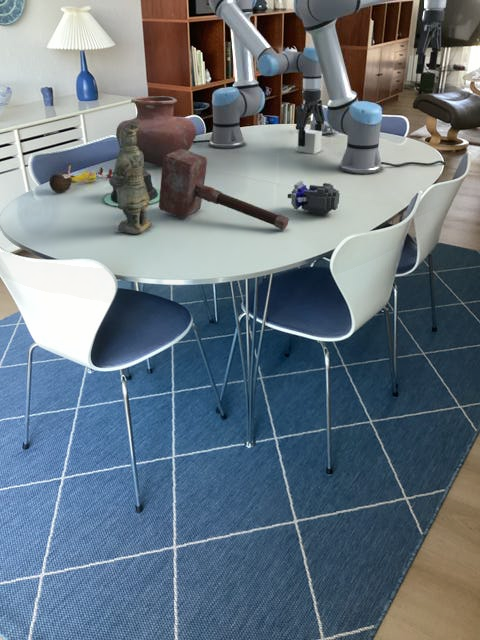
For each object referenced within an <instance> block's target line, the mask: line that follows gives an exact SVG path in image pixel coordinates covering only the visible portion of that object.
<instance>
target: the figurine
mask: <svg viewBox="0 0 480 640" xmlns="http://www.w3.org/2000/svg"><path fill="white" fill-rule="evenodd" d="M71 169H72V167H71V164H70V165H69V166H68V169H67V174H66V173H63V174H61V173H59V172H56V173H53V174H52V175H51V176H50V177H49V181H48V182H49V187H50V189H51V190H52V191H54V192H56V193H64V192H67V191H68V190H69V189H70V188H71V186H72V184H85V183H86V182H92V183H93V182H96V180H95V179H98V178H99V179H110V178H111V176H112V173H113V170H112V168H110V169H108V173H107V174H103V172H104V168H103V167H102V166H101V167H100V168H99V171H98V172H96V171H95V170H94V169H91V170H89V171H85V172H83V173H80V174H76V175H73V174H72V175H71Z"/></svg>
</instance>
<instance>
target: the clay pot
mask: <svg viewBox="0 0 480 640" xmlns="http://www.w3.org/2000/svg"><path fill="white" fill-rule="evenodd" d="M130 102H131V103H134V105H135V107H136V112H137V113H136V116H135V117H134V118H130V119H128V120H127V119H126V120H122V121H121V122H120V123H119V124H118V125H117V127H116V133H115V137H116V139H117V142H119V140H118V138H119V133H120V130H121V129H123V128H124V127H125V126H126V125H127V124H128V123H131V122H133V121H137V122H138V123H139V127H138V130H137V131H136V138H137V143H136V146H137V147H138V149H139V150H141V151H142V153H143V156H144V163H147V164H150V165H155V166H163V158H164V156H165V155H167V154H170V153H172V152H174V151H177V150H179V149H184V150H187V151H189V150H190V149H191V147H192V146H193V144H194V143H193V141H195V140H196V136H197V127H196V125H195V124H194V122H193V121H192V120H191V119H190V118H188V117H184V116H174V108H175V105H176V103H177V102H178V100H177V99H176V98H174V97H173V96H165V95H161V96H160V95H159V96H142V97H140V96H139V97H134V98H131V101H130Z"/></svg>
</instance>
